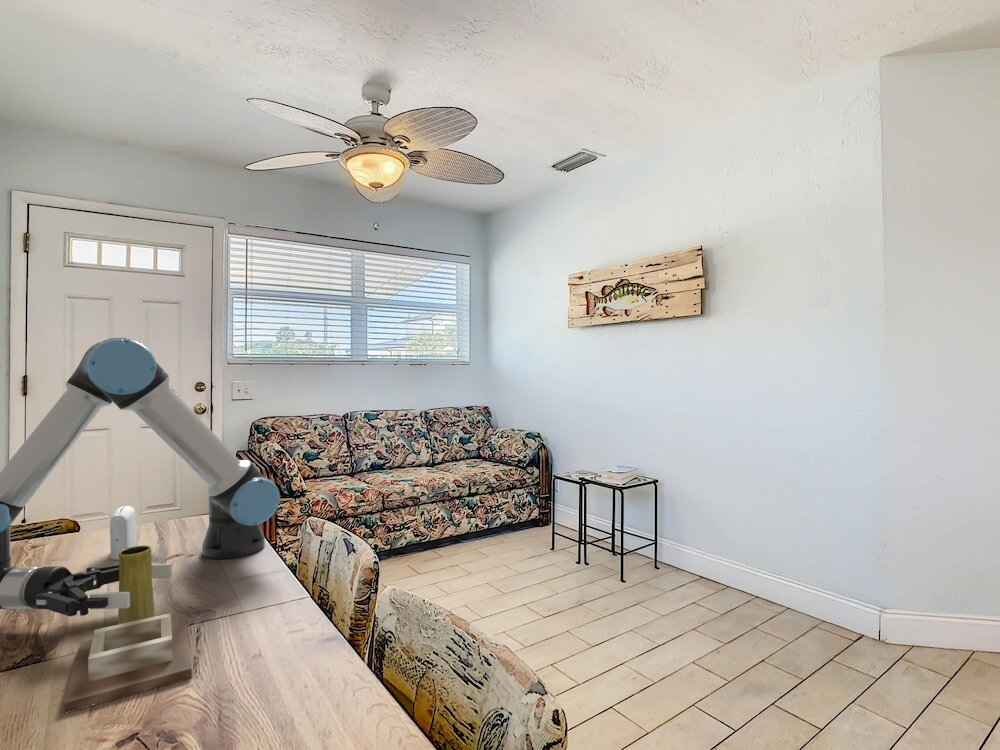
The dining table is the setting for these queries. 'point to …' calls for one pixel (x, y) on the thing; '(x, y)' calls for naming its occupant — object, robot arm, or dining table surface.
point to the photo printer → (122, 530)
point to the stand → (129, 660)
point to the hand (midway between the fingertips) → (151, 584)
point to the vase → (136, 583)
